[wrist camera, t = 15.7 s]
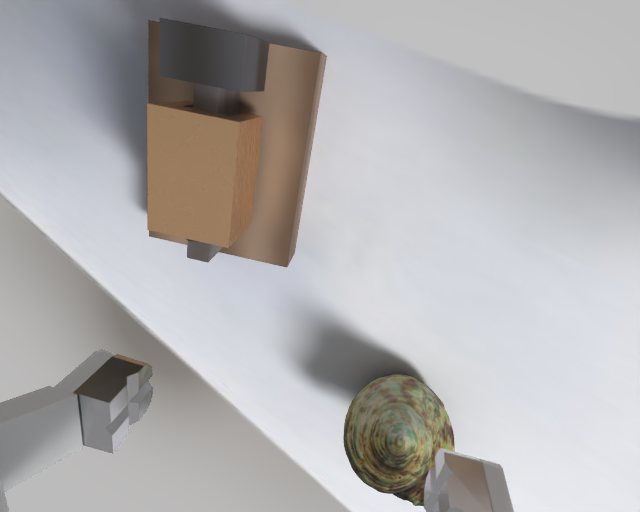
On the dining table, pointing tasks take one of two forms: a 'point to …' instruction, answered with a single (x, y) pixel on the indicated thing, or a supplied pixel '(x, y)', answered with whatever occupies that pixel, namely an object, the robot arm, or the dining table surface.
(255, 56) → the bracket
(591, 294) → the dining table surface
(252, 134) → the slotted cardboard block
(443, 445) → the seashell
